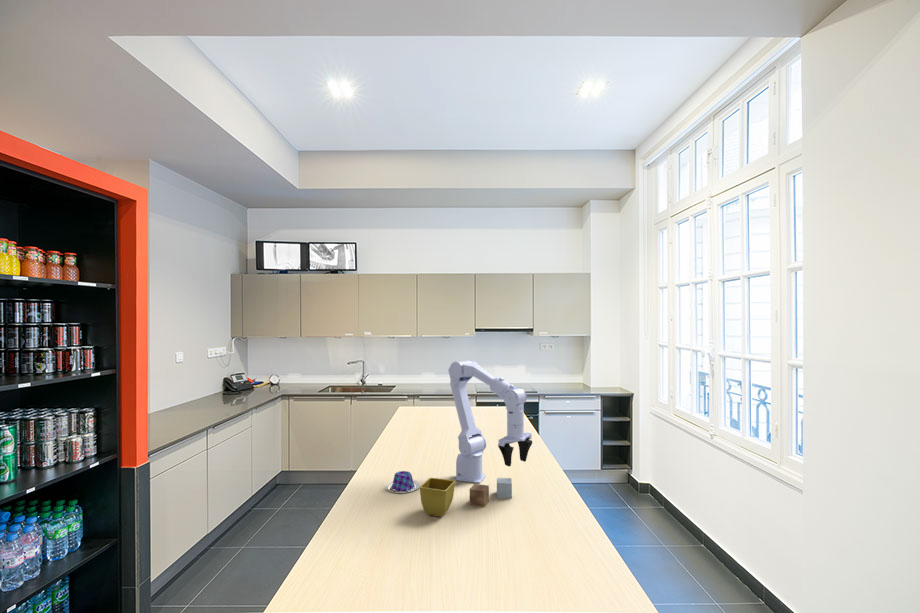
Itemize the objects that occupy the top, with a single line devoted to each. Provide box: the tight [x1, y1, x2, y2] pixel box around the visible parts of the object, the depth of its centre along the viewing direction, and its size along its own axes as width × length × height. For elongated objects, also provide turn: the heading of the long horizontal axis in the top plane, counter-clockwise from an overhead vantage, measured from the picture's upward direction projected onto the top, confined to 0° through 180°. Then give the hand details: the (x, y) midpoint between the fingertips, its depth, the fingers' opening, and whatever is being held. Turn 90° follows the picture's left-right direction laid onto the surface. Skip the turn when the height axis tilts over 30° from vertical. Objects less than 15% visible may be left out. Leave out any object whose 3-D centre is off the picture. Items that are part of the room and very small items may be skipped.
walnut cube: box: [469, 483, 490, 508], centre depth 145 cm, size 5×5×5 cm
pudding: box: [385, 470, 421, 494], centre depth 159 cm, size 12×12×5 cm
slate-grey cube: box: [496, 477, 513, 499], centre depth 151 cm, size 5×5×5 cm
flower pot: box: [419, 477, 456, 518], centre depth 138 cm, size 9×9×9 cm
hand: (515, 463), depth 154 cm, fingers open, 7 cm apart
